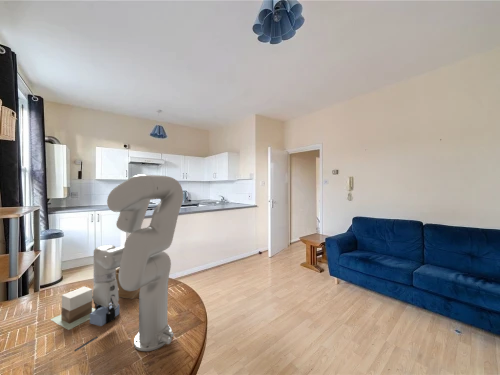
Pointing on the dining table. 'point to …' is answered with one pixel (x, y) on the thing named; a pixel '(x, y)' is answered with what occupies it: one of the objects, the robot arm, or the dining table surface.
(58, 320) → the build board
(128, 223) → the robot arm
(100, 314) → the brick
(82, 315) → the brick
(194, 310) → the dining table surface
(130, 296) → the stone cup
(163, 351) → the dining table surface
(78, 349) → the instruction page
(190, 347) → the dining table surface
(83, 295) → the brick
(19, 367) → the dining table surface
